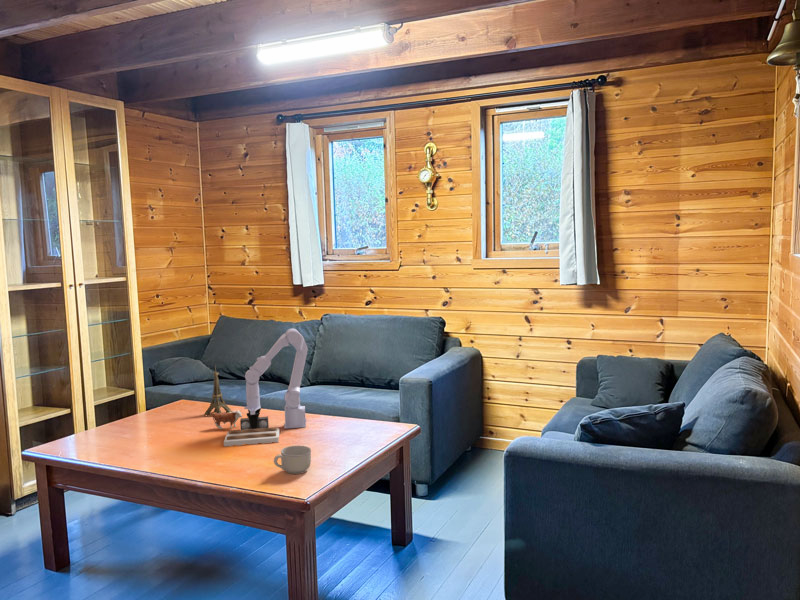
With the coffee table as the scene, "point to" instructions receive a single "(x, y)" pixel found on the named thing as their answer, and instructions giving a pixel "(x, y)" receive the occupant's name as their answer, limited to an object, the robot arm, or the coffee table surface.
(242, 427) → the grey rectangular block
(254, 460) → the coffee table surface
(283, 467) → the teacup
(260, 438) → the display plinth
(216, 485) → the coffee table surface
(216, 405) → the eiffel tower
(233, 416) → the bull figurine
